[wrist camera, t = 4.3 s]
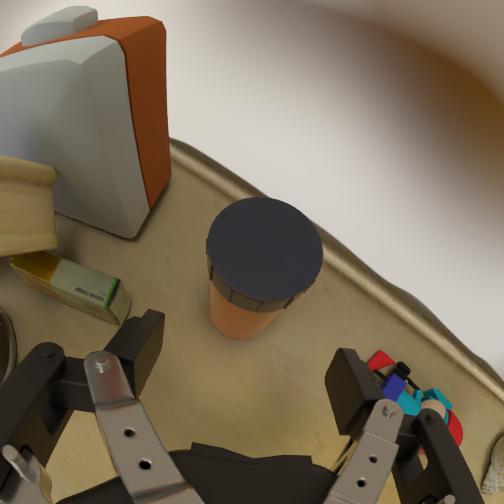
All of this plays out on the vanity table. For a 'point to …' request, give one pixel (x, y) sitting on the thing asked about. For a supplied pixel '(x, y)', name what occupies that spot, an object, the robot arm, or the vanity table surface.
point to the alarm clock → (91, 113)
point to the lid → (262, 254)
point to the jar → (236, 318)
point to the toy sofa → (26, 207)
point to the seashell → (495, 470)
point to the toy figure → (414, 394)
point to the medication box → (74, 285)
